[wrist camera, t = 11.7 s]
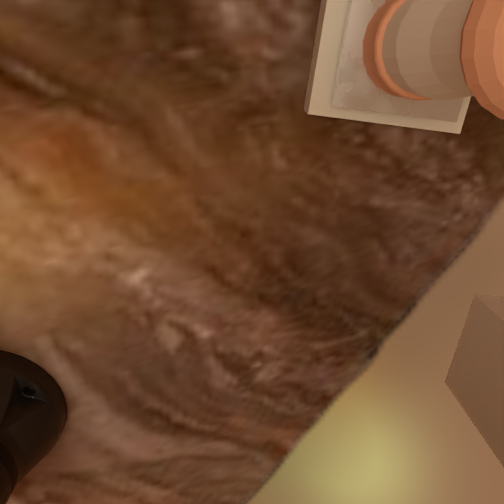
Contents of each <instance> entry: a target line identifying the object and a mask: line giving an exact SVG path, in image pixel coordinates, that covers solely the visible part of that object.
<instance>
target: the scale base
mask: <svg viewBox="0 0 504 504" xmlns="http://www.w3.org/2000/svg"><path fill="white" fill-rule="evenodd" d="M349 4H350V0H321V6H320V12H319V18H318V24H317V30H316V36H315V42H314V48H313V55H312V61H311V67H310V73H309V79H308V85H307V91H306V97H305V104H304V111H305V112H306V113H307V114H311V115H319V116H326V117H334V118H342V119H349V120H357V121H365V122H372V123H380V124H388V125H395V126H403V127H411V128H419V129H426V130H434V131H442V132H449V133H457V134H460V132H461V129H462V125H463V122H464V119H465V115H466V112H467V108H468V105H469V102H470V98H471V96H469V97H464V99H463V102H462V106H461V109H460V113H459V116H458V120H457V123H456V122H449V121H441V120H434V119H426V118H418V117H411V116H403V115H396V114H388V113H380V112H373V111H365V110H358V109H350V108H343V107H335V106H331V102H332V96H333V91H334V86H335V80H336V75H337V69H338V64H339V58H340V53H341V48H342V42H343V37H344V31H345V26H346V20H347V15H348V10H349Z"/></svg>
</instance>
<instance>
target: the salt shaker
mask: <svg viewBox="0 0 504 504" xmlns="http://www.w3.org/2000/svg"><path fill="white" fill-rule="evenodd" d="M363 61H364V65H365V68H366V71H367V74H368V75H369V77H370V78H371V80H372V81H373V82H374V84H375V85H376V86H377V87H379V88H380V89H382V90H383V91H385V92H386V93H388V94H391V95H395V96H399V97H403V98H407V99H412V100H416V101H420V100H430V99H434V100H438V101H441V100H450V99H458V98H464V97H469V96H475V98H476V99H477V101H478V102H479V104H480V105H481V106H482V107H484V108H485V109H487V110H488V111H490V112H491V113H492V114H494V115H495V116H497V117H498V118H500V119H504V0H387V1H386V2H385V3H384V4H383V5H382V6H381V7H380V8H379V9H378V10H377V11H376V12H375V14H374V16H373V17H372V19H371V20H370V22H369V24H368V25H367V29H366V32H365V36H364V39H363Z"/></svg>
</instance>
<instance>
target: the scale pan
mask: <svg viewBox="0 0 504 504" xmlns="http://www.w3.org/2000/svg"><path fill="white" fill-rule="evenodd" d="M386 1H387V0H350V4H349V10H348V15H347V20H346V26H345V31H344V37H343V42H342V48H341V53H340V58H339V64H338V69H337V75H336V80H335V86H334V91H333V96H332V102H331V106H335V107H343V108H350V109H358V110H365V111H373V112H380V113H388V114H396V115H403V116H411V117H418V118H426V119H434V120H441V121H449V122H456V123H457V120H458V116H459V113H460V109H461V106H462V102H463V99H464V98H458V99H450V100H441V101H438V100H434V99H430V100H420V101H416V100H412V99H407V98H403V97H399V96H395V95H391V94H388V93H386V92H385V91H383V90H382V89H380V88H379V87H377V86H376V85H375V84H374V82H373V81H372V80H371V78H370V77H369V75H368V74H367V71H366V68H365V65H364V61H363V39H364V36H365V32H366V29H367V25H368V24H369V22H370V20H371V19H372V17H373V16H374V14H375V12H376V11H377V10H378V9H379V8H380V7H381V6H382V5H383V4H384V3H385V2H386Z"/></svg>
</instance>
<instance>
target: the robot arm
mask: <svg viewBox="0 0 504 504" xmlns="http://www.w3.org/2000/svg"><path fill="white" fill-rule="evenodd" d="M445 383H446V384H447V386H448V387H449V389H450V390H451V392H452V393H453V394H454V396H455V397H456V398H457V400H458V402H459V403H460V404H461V406H462V407H463V409H464V410H465V412H466V413H467V415H468V416H469V418H470V419H471V420H472V422H473V423H474V425H475V426H476V428H477V429H478V430H479V432H480V434H481V435H482V436H483V438H484V439H485V441H486V442H487V444H488V445H489V446H490V448H491V449H492V451H493V452H494V454H495V455H496V457H497V458H498V460H499V461H500V463H501V464H502V465H503V467H504V298H503V297H498V296H487V295H477V294H475V295H474V298H473V301H472V304H471V307H470V310H469V313H468V316H467V319H466V322H465V325H464V328H463V330H462V333H461V337H460V339H459V342H458V345H457V348H456V351H455V354H454V357H453V360H452V363H451V365H450V368H449V371H448V375H447V377H446V380H445ZM65 421H66V404H65V400H64V397H63V395H62V393H61V391H60V389H59V387H58V386H57V384H56V383H55V382H54V380H53V379H52V378H51V377H50V376H49V375H48V374H47V373H46V372H45V371H43V370H42V369H41V368H39V367H38V366H37V365H35V364H33V363H32V362H30V361H28V360H26V359H24V358H22V357H19V356H17V355H14V354H10V353H7V352H2V351H0V504H6V503H7V501H8V499H9V497H10V495H11V493H12V491H13V489H14V487H15V486H16V484H17V483H18V482H19V481H20V480H21V479H22V478H23V477H24V476H25V475H26V474H27V473H28V472H29V471H30V470H31V469H32V468H33V467H34V466H35V465H36V464H37V463H38V462H39V461H40V460H41V459H42V458H44V457H45V456H46V455H47V454H48V453H49V452H50V451H51V449H52V448H53V446H54V445H55V443H56V442H57V440H58V438H59V436H60V434H61V431H62V429H63V427H64V425H65Z"/></svg>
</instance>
